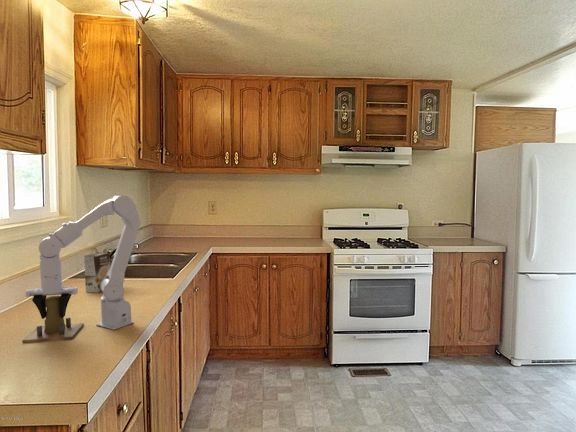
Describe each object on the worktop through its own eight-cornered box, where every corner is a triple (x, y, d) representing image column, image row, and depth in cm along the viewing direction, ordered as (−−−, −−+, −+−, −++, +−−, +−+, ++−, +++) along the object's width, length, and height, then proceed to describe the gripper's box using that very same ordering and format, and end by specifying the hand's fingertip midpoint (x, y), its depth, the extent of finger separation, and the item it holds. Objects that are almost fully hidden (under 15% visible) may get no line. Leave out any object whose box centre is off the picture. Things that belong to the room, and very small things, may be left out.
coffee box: (97, 293, 179) (95, 256, 178) (85, 292, 181) (83, 255, 180) (111, 287, 188) (110, 252, 187) (100, 286, 190) (98, 252, 188)
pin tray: (83, 325, 140) (83, 314, 139) (72, 339, 128) (71, 327, 128) (38, 328, 137) (37, 317, 137) (22, 342, 125) (21, 330, 125)
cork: (59, 325, 138) (58, 293, 137) (69, 329, 134) (68, 296, 133) (40, 330, 133) (39, 297, 132) (50, 334, 129) (48, 300, 128)
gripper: (79, 271, 136) (81, 311, 137) (31, 273, 133) (33, 314, 135) (72, 276, 129) (75, 318, 130) (21, 278, 126) (24, 322, 128)
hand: (53, 317), depth 132 cm, fingers closed on cork, 5 cm apart
